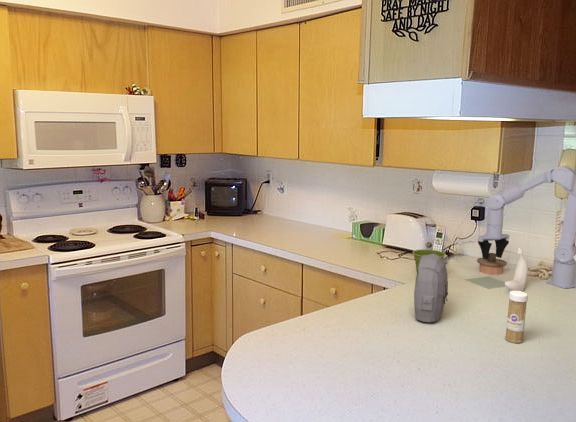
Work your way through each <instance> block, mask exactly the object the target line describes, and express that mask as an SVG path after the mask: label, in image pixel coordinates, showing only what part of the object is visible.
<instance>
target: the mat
mask: <svg viewBox="0 0 576 422" xmlns="http://www.w3.org/2000/svg"><path fill="white" fill-rule="evenodd" d="M464 281H465V282H466V281H467V282H469V283H471V284H475V285H477V286H480V287H483V288H485V289H488V290H490V289H491V290H492V289H496V288H497V289H498V288H504V287H505V282H506V281H503V280H499V279H497V278H494V277H491V276H483V277H481V276H480V277H476V278H473V277H472V278H467V279H464ZM505 288H506V287H505Z"/></svg>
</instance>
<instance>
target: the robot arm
mask: <svg viewBox="0 0 576 422" xmlns="http://www.w3.org/2000/svg"><path fill="white" fill-rule="evenodd" d="M551 183H552V184H553V183H555V184H557V185H558V186H561V188H563V189H564V190H565V191H566V193H567V194H568V196H567V202H566V205H565V206H566V207H565V212H564V217H563V222H562V223H563V224H562V229H561V234H560V237H559V241H558V245H557V247H556V248H555V249H554V251H553V255H554V258H553V262H552V271H551V280H547V281H545V283H546V284H549V285H551V286H555V287H558V288H561V289H569V288H570V289H571V288H576V260H575V258H574V257H575V256H576V171H575V170H574V169H573V167H571V166H569V165H561V166H558V167H555V168H553V169H550V170H547V171H544V172H541V173H540V174H537V175H536V176H534V177H532V178H531V179H529V180H527V181H525V182H524V183H522V184H518V183H514V184H513V183H511V184H508V187H506V188H505V189H502V190H498V191H497V193H495V194H492V195H491V196H489V197H488V199H487V206H488V209H487V210H488V212H487V220H486V221H487V222H486V233H485V234H483V235H478V236H477V243H478V246H479V247H480V248H479V249H480V250H481V257H482V258H483V259H488V257H489V253H490V251H491V247H492V245H493V242H492V241H494V243H495V254H496V258H497V259H502V257H503V255H504V251H505V249H506V247H507V246H508V244H510V242H509V240H510V234H508V233H503V226H504V225H503V224H504V212H505V211H504V209H505V208H504V207H506V205H509V204H511V203H514V202H515V201H518V200H520V199H522V198H523V197H524V195H525V192H528V191H529V190H533V189H534V188H536V187H538V186H540V185H543V184H551ZM491 242H492V243H491Z"/></svg>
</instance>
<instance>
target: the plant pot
mask: <svg viewBox="0 0 576 422" xmlns="http://www.w3.org/2000/svg"><path fill="white" fill-rule="evenodd" d="M412 254H413V257H414V261H415V262H414V263H415V271H416V273H417V272H418V267H419V263H420V259H421V258H422V256H423V255H430V254H436V255H438V256H440V257H441V258H442V259H443V260H444V258H445V257H446V255H447V254H446V253H445V252H443V251H441V250H435V249H428V248H427V249H416V250H413V251H412Z"/></svg>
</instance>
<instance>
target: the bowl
mask: <svg viewBox="0 0 576 422" xmlns="http://www.w3.org/2000/svg"><path fill="white" fill-rule="evenodd" d="M503 271H504V266H502V267H494V266H486V265H482V264H479V272H481V273H482V274H485V275H491V276H498V275H502V274H503Z"/></svg>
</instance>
